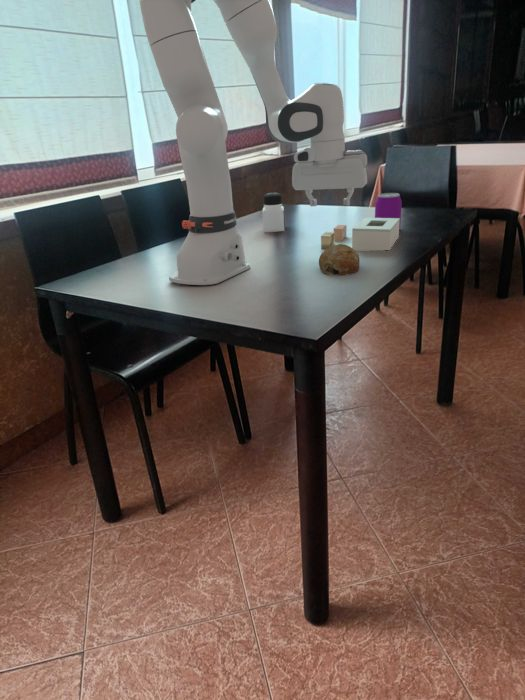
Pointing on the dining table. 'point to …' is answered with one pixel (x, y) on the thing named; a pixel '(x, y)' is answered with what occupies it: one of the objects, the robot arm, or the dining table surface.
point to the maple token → (327, 240)
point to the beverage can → (388, 206)
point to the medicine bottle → (273, 213)
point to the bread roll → (339, 260)
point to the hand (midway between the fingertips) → (329, 205)
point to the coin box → (375, 234)
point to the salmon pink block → (340, 232)
